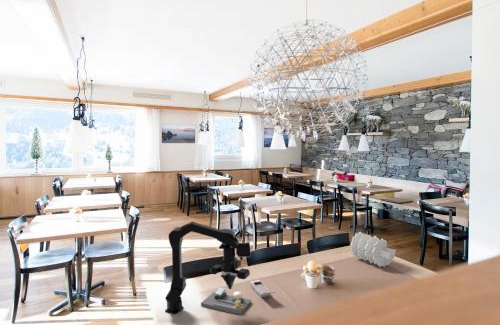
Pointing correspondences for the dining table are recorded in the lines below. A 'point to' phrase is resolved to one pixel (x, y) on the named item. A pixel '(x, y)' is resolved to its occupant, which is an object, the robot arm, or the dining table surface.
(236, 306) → the wood grain cube
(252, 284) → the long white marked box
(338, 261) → the dining table surface
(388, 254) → the spiral staircase
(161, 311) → the dining table surface
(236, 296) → the push button
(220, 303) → the control panel
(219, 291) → the rocker switch
